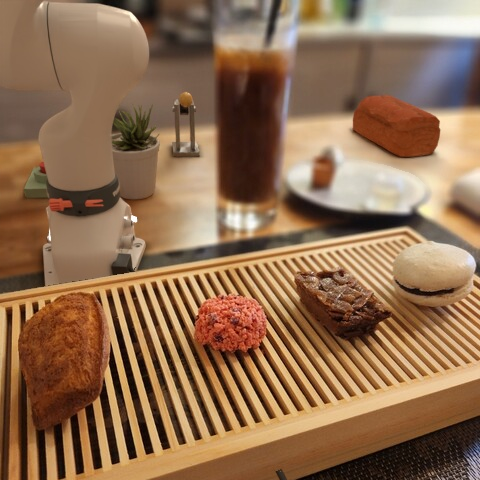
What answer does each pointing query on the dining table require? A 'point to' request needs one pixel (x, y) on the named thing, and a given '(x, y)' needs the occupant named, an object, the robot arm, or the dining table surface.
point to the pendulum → (190, 147)
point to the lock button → (42, 167)
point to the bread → (397, 126)
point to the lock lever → (185, 103)
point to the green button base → (36, 184)
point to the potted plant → (135, 156)
